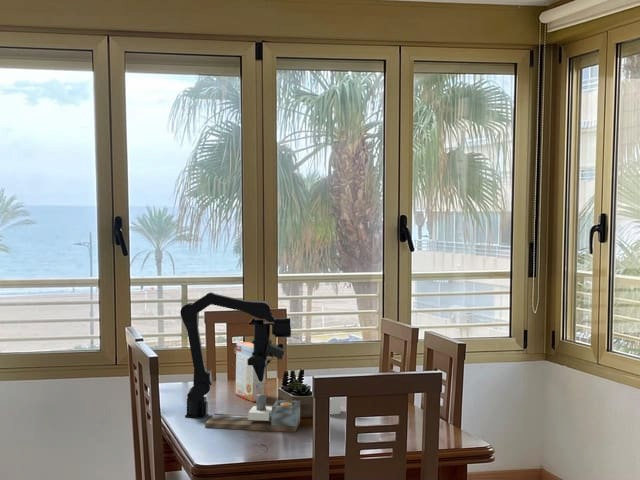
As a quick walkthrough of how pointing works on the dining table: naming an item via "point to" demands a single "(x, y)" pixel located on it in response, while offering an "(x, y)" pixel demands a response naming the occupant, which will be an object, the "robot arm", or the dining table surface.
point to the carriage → (260, 409)
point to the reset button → (285, 404)
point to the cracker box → (247, 374)
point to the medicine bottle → (335, 406)
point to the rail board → (280, 420)
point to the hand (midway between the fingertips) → (261, 381)
